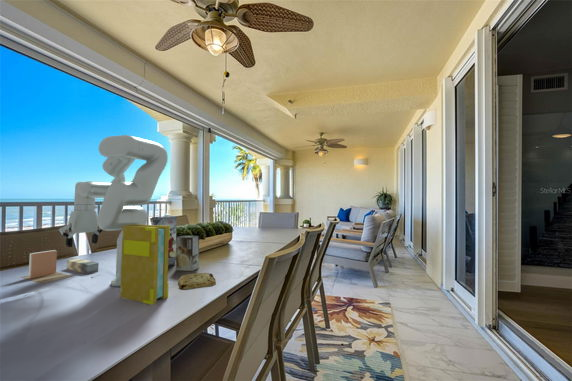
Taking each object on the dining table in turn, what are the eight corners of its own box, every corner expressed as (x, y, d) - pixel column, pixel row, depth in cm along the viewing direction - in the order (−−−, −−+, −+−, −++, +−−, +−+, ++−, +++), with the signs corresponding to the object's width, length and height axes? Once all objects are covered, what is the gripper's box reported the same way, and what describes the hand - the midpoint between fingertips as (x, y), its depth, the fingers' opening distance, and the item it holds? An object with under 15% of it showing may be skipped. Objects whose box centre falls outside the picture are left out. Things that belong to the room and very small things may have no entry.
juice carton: (147, 267, 119) (149, 214, 120) (165, 262, 129) (166, 213, 130) (160, 270, 116) (162, 214, 117) (177, 264, 125) (179, 213, 127)
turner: (98, 273, 108) (98, 262, 108) (87, 276, 104) (88, 264, 104) (77, 268, 115) (77, 258, 116) (66, 271, 112) (67, 260, 112)
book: (168, 296, 84) (170, 225, 85) (151, 304, 77) (154, 227, 78) (133, 290, 89) (135, 224, 90) (115, 297, 83) (117, 225, 84)
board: (72, 279, 101) (72, 276, 101) (40, 287, 92) (41, 283, 92) (52, 274, 108) (52, 270, 109) (20, 280, 99) (20, 277, 99)
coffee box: (199, 267, 120) (200, 235, 121) (192, 271, 114) (193, 237, 114) (182, 266, 122) (183, 235, 122) (175, 270, 115) (175, 237, 116)
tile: (55, 273, 105) (56, 250, 106) (30, 278, 98) (31, 254, 98) (53, 272, 106) (54, 249, 106) (28, 277, 99) (29, 253, 99)
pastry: (164, 287, 94) (165, 279, 94) (195, 274, 110) (196, 268, 110) (200, 293, 88) (200, 285, 88) (227, 279, 104) (227, 272, 104)
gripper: (100, 207, 120) (98, 241, 120) (56, 208, 105) (54, 247, 104) (109, 208, 117) (107, 242, 117) (65, 209, 102) (62, 249, 101)
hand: (82, 244), depth 111 cm, fingers open, 9 cm apart
